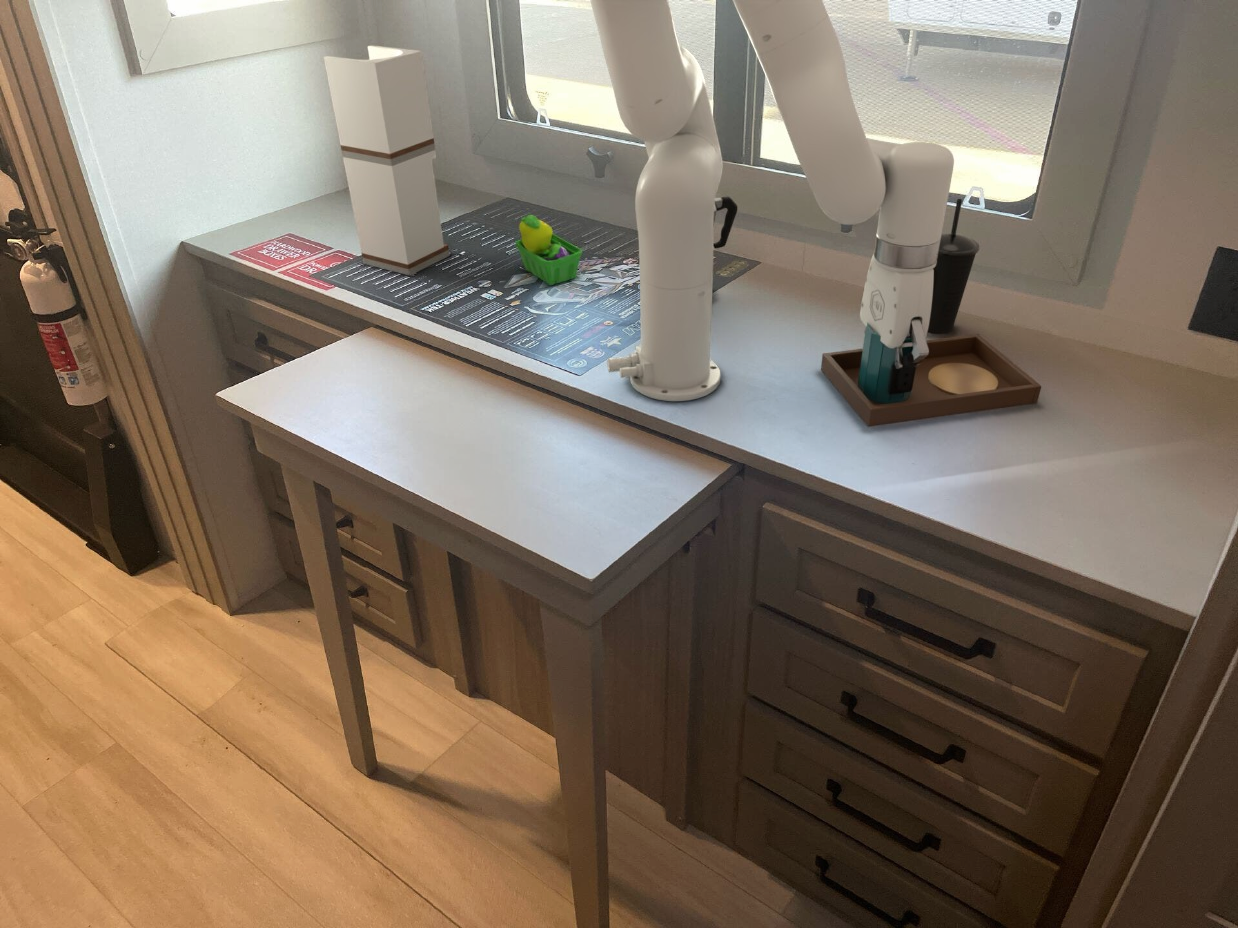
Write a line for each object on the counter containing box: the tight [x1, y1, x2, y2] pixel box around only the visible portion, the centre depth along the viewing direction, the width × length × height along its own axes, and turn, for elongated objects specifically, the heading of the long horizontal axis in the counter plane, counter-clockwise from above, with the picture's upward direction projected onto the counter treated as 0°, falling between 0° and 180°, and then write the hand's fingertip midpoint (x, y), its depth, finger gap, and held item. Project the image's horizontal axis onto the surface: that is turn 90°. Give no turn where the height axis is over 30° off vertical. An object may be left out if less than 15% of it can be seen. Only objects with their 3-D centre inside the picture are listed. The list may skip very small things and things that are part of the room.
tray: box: [820, 333, 1043, 428], centre depth 123 cm, size 24×16×3 cm, turn 102°
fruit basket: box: [514, 214, 583, 286], centre depth 157 cm, size 11×9×11 cm
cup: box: [858, 323, 912, 404], centre depth 120 cm, size 7×7×10 cm
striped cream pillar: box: [323, 45, 451, 276], centre depth 158 cm, size 11×11×35 cm
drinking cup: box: [927, 198, 981, 335], centre depth 133 cm, size 8×8×20 cm
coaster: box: [928, 363, 998, 395], centre depth 125 cm, size 9×9×1 cm
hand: (886, 377), depth 122 cm, fingers closed on cup, 7 cm apart
